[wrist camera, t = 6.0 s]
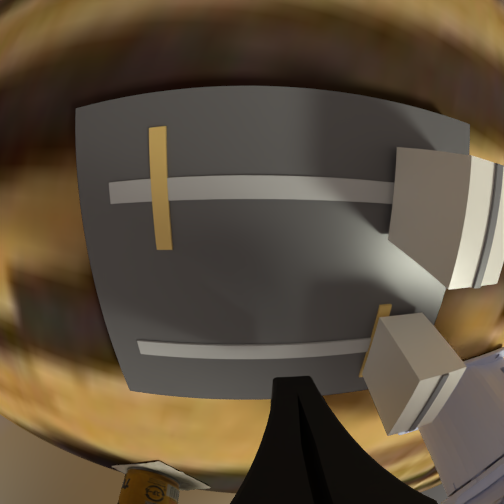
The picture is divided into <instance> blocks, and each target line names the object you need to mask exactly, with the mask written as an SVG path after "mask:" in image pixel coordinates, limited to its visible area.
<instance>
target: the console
mask: <svg viewBox="0 0 504 504" xmlns="http://www.w3.org/2000/svg"><path fill="white" fill-rule="evenodd" d="M75 135H76V162H77V177H78V188H79V198H80V206H81V214H82V221H83V227H84V233H85V239H86V245H87V250H88V255H89V260H90V265H91V270H92V274H93V278H94V283H95V287H96V291H97V295H98V298H99V302H100V306H101V309H102V313H103V316H104V320H105V323H106V326H107V329H108V333H109V336H110V339H111V342H112V345H113V348H114V350H115V353H116V356H117V359H118V362H119V364H120V367H121V370H122V372H123V375H124V377H125V380H126V382H127V385H128V387H129V389H130V391H136V392H143V393H150V394H158V395H167V396H178V397H190V398H206V399H271V396H272V384H273V379H274V378H276V377H294V376H310V377H312V379H313V381H314V383H315V385H316V387H317V388H318V390H319V392H320V393H321V395H331V394H340V393H347V392H354V391H361V390H367V389H368V387H367V385H366V382H365V380H364V378H363V375H362V372H363V369H364V366H365V363H366V360H367V357H368V354H369V351H370V348H371V345H372V341H373V338H374V335H375V331H376V328H377V324H378V320H379V317H386V316H396V315H405V314H414V313H423V314H424V315H425V316H426V317H427V319H428V320H429V321H430V322H431V323H432V324H433V326H434V323H435V320H436V318H437V315H438V312H439V309H440V306H441V303H442V300H443V297H444V293H445V290H446V287H445V286H444V285H443V284H441V283H440V282H439V281H438V280H437V279H436V278H434V277H433V276H432V275H431V274H430V273H429V272H427V271H426V270H425V269H424V268H423V267H421V266H420V265H419V264H418V263H416V262H415V261H414V260H413V259H412V258H410V257H409V256H408V255H406V254H405V253H404V252H403V251H401V250H400V249H399V248H398V247H396V246H395V245H394V244H392V243H391V242H390V241H388V235H389V228H390V221H391V213H392V204H393V195H394V184H395V171H396V154H397V147H403V148H415V149H425V150H434V151H443V152H450V153H458V154H464V155H469V143H470V124H467V123H465V122H462V121H459V120H456V119H453V118H450V117H447V116H444V115H441V114H438V113H435V112H431V111H428V110H424V109H421V108H417V107H413V106H409V105H405V104H401V103H397V102H393V101H388V100H383V99H378V98H373V97H368V96H362V95H357V94H350V93H343V92H336V91H328V90H319V89H309V88H297V87H280V86H216V87H199V88H187V89H177V90H168V91H160V92H153V93H146V94H140V95H134V96H128V97H123V98H118V99H113V100H108V101H104V102H99V103H95V104H91V105H87V106H83V107H79V108H76V116H75Z"/></svg>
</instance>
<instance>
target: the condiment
mask: <svg viewBox="0 0 504 504" xmlns="http://www.w3.org/2000/svg"><path fill="white" fill-rule="evenodd" d="M112 467H113V468H115V469H117V470H118V471H121V472H122V473H124V474H125V478H124V482H123V485H122V488H121V492H120V496H119V501H118V504H178V497H179V490H192V489H193V490H194V489H206V488H211V487H209V486H207V485H205V484H204V483H202V482H200V481H197V480H195V479H194V478H192V477H190V476H188V475H186V474H184V473H183V472H180V471H177V470H175V469H174V468H172V467H170V466H167V465H166V464H164V463H162V462H160V461H158V462H150V463H143V464H128V465H115V466H112ZM159 470H160V471H159ZM182 484H183V485H182Z"/></svg>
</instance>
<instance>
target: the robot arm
mask: <svg viewBox="0 0 504 504" xmlns="http://www.w3.org/2000/svg"><path fill="white" fill-rule="evenodd" d="M503 357H504V347H502V348H500V349H497V350H494V351H492V352H489V353H486V354H484V355H481V356H478V357H475V358H472V359H469V360H466V361H463V362H464V364H465V365H466V366H467V368H466V369H465V371H464V373H463V375H462V377H461V378H460V380H459V382H458V383H457V385H456V387H455V388H454V390H453V392H452V393H451V395H450V397H449V398H448V400H447V401H446V403H445V404H444V406H443V407H442V409H441V410H440V412H439V413H438V415H437V416H436V417H435V419H434V420H433V422H432V423H429V424H426V425H423V426H420V427H417V428H416V429H415V430H418V429H419V431H420V433H421V435H422V438H423V440H424V442H425V444H426V446H427V449H428V451H429V453H430V455H431V458H432V460H433V462H434V464H435V467H436V469H437V471H438V474H439V476H440V479H441V481H442V484H443V486H444V488H445V491H446V493H447V496H448V497H449V498H448V499H446V500H445V501H443V502H441V504H504V359H503ZM415 430H413V431H415ZM410 432H412V431H410ZM406 433H409V431H408V430H407V431H404V432H400V433H398V435H402V434H406ZM230 504H438V503H437V501H435V500H434V499H431V498H429V497H427V496H425V495H423V494H422V493H420V492H418V491H416V490H414V489H413V488H411V487H410V486H408V485H406V484H405V483H403V482H402V481H400V480H399V479H398V478H396V477H395V476H394V475H392V474H391V473H390V472H388V471H387V470H386V469H384V468H383V467H382V466H381V465H379V464H378V463H377V462H376V461H375V460H374V459H373V458H372V457H371V456H370V455H369V454H368V453H366V452H365V451H364V450H363V449H362V448H361V446H360V445H359V444H358V443H357V442H356V441H355V440H354V439H353V438H352V436H351V435H350V434H349V433H348V432H347V430H346V429H345V428H344V427H343V425H342V424H341V423H340V422H339V420H338V419H337V417H336V416H335V415H334V413H333V412H332V410H331V409H330V408H329V406H328V405H327V403H326V401H325V400H324V398H323V397H322V395H321V393H320V392H319V390H318V388H317V387H316V385H315V383H314V381H313V379H312V377H310V376H294V377H276V378H274V379H273V384H272V396H271V410H270V414H269V418H268V422H267V426H266V429H265V432H264V435H263V438H262V441H261V444H260V447H259V449H258V452H257V454H256V456H255V459H254V461H253V463H252V465H251V467H250V470H249V472H248V473H247V475H246V477H245V479H244V481H243V483H242V485H241V487H240V488H239V490H238V492H237V493H236V495H235V497H234V498H233V500H232V501H231V503H230Z"/></svg>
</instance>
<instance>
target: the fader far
mask: <svg viewBox="0 0 504 504" xmlns="http://www.w3.org/2000/svg"><path fill="white" fill-rule="evenodd" d="M466 368H467V366H466V365H465V364H464V362H463V361H462V360H461V359H460V357H459V356H458V355H457V353H456V352H455V351H454V350H453V348H452V347H451V346H450V345H449V344H448V342H447V341H446V340H445V339H444V337H443V336H442V335H441V334H440V333H439V331H438V330H437V329H436V328H435V327H434V326H433V324H432V323H431V322H430V321H429V320H428V319H427V317H426V316H425V315H424V314H423V313H414V314H405V315H396V316H386V317H379V320H378V324H377V328H376V331H375V335H374V338H373V341H372V345H371V348H370V351H369V354H368V357H367V360H366V363H365V366H364V369H363V372H362V375H363V378H364V380H365V382H366V385H367V387H368V389H369V392H370V394H371V396H372V399H373V401H374V404H375V406H376V408H377V411H378V413H379V416H380V418H381V421H382V423H383V426H384V428H385V431H386V433H387V436H389V435H393V434H397V433H400V432H404V431H407V430H408V431H409V432H410V431H413V430H415V429H416V428H417V427H420V426H423V425H426V424H429V423H432V422H433V420H434V419H435V417H436V416H437V415H438V413H439V412H440V410H441V409H442V407H443V406H444V404H445V403H446V401H447V400H448V398H449V397H450V395H451V393H452V392H453V390H454V388H455V387H456V385H457V383H458V382H459V380H460V378H461V377H462V375H463V373H464V371H465V369H466Z"/></svg>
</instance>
